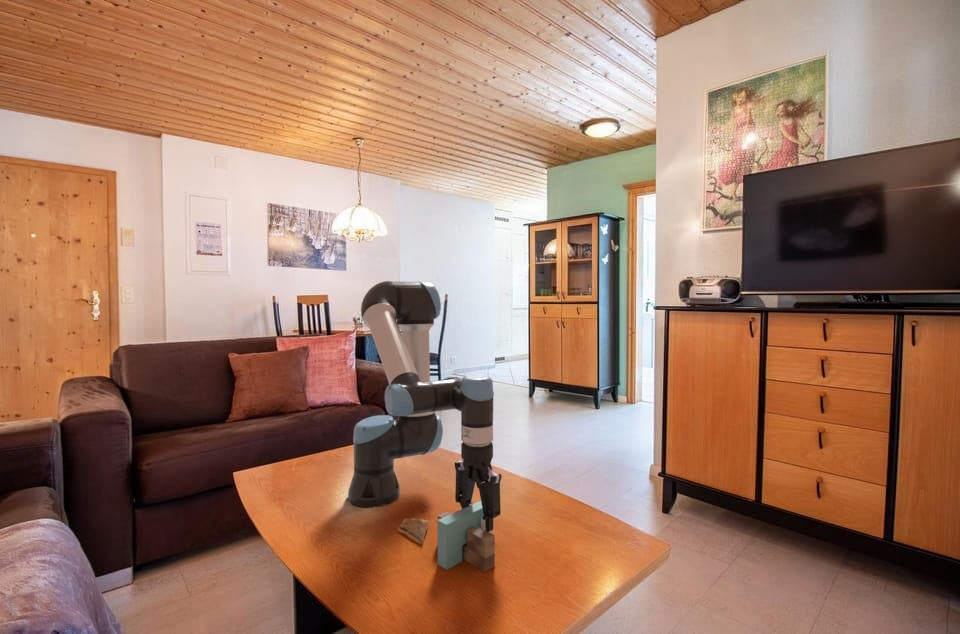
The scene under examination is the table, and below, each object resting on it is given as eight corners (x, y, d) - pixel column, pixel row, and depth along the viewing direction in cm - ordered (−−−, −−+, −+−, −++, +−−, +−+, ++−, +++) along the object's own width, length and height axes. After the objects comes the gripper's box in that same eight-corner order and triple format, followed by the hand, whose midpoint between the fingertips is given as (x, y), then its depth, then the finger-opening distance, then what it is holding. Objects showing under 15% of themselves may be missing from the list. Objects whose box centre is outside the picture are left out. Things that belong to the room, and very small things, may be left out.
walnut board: (437, 543, 109) (437, 515, 109) (447, 539, 111) (447, 511, 111) (485, 571, 98) (485, 540, 97) (494, 566, 100) (494, 535, 99)
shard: (422, 547, 108) (422, 540, 108) (391, 547, 108) (391, 539, 108) (429, 525, 119) (429, 518, 119) (401, 524, 119) (401, 518, 119)
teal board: (446, 569, 98) (446, 524, 98) (437, 564, 100) (437, 520, 100) (490, 545, 108) (490, 504, 108) (481, 540, 110) (481, 500, 110)
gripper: (439, 436, 110) (440, 530, 111) (494, 455, 97) (494, 560, 98) (462, 430, 115) (462, 519, 116) (517, 447, 102) (517, 547, 103)
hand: (477, 538), depth 107 cm, fingers open, 5 cm apart
